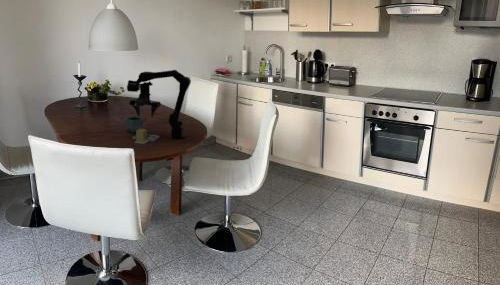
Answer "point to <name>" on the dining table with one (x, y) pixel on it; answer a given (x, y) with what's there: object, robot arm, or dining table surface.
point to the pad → (142, 142)
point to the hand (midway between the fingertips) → (145, 116)
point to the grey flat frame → (151, 137)
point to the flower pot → (134, 123)
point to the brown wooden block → (141, 135)
